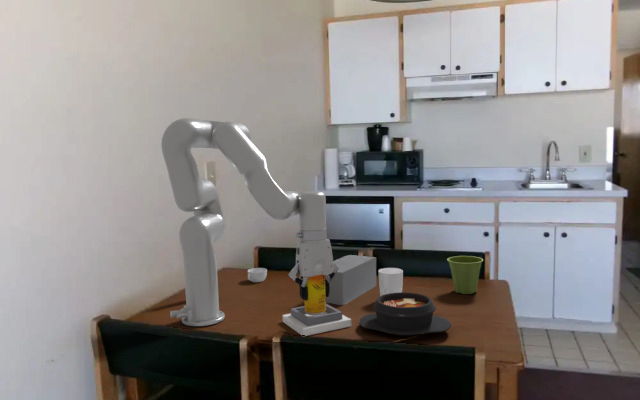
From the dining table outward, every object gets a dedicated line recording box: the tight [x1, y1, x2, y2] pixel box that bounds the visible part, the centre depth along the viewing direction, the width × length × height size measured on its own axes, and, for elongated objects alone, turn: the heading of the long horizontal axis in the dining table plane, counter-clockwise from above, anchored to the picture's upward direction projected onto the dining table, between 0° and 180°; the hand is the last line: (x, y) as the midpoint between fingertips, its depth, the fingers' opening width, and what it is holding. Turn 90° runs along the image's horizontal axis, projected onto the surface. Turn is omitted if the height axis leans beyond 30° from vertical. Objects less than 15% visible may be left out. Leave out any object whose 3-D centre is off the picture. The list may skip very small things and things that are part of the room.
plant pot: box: [446, 255, 484, 295], centre depth 176 cm, size 12×12×11 cm
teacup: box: [247, 267, 268, 283], centre depth 198 cm, size 10×10×5 cm
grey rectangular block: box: [326, 254, 377, 306], centre depth 182 cm, size 25×23×11 cm
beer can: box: [303, 264, 327, 316], centre depth 148 cm, size 6×6×15 cm
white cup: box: [377, 267, 404, 297], centre depth 168 cm, size 8×8×10 cm
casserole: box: [358, 291, 452, 337], centre depth 142 cm, size 25×19×8 cm
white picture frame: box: [282, 303, 352, 337], centre depth 148 cm, size 15×14×4 cm
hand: (314, 297), depth 148 cm, fingers closed on beer can, 6 cm apart
